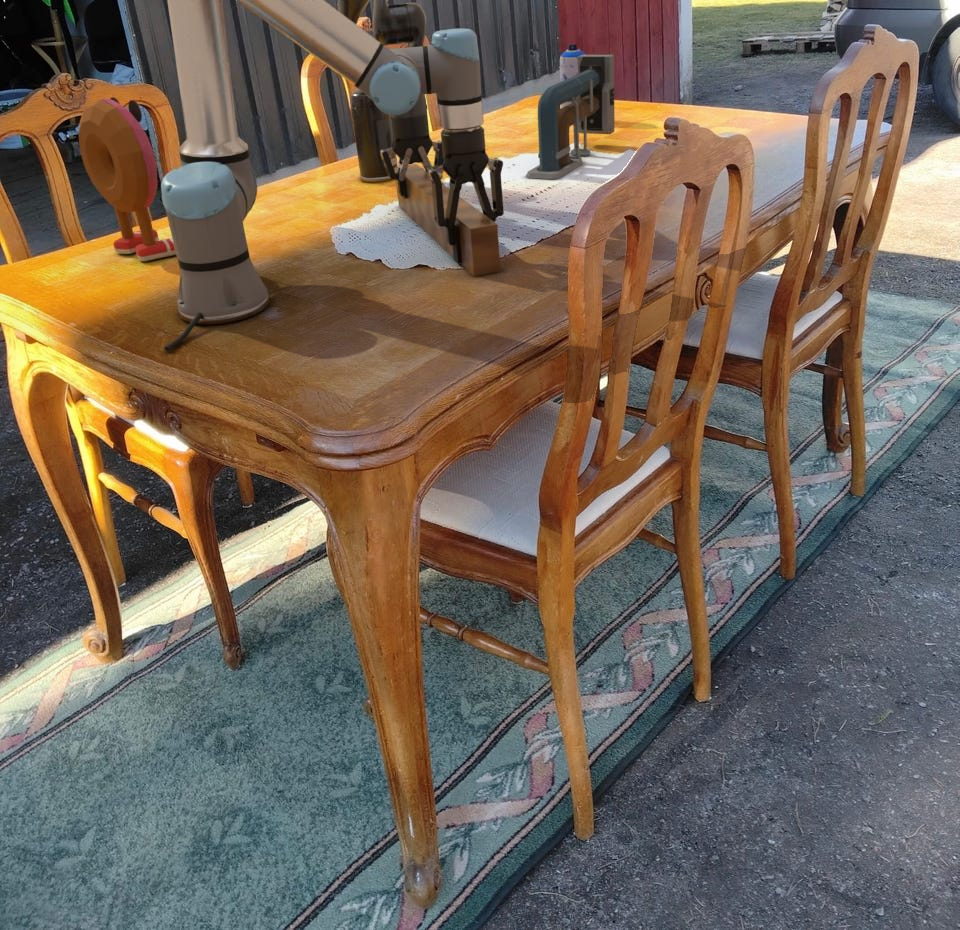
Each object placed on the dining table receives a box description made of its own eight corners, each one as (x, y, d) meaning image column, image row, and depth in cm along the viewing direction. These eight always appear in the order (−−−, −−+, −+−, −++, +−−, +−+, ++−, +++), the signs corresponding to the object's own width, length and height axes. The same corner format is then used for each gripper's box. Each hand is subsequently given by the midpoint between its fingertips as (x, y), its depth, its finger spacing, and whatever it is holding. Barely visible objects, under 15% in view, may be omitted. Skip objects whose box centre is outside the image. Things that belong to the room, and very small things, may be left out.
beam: (500, 271, 172) (497, 224, 168) (474, 276, 171) (470, 228, 167) (420, 203, 214) (416, 163, 210) (398, 206, 213) (394, 167, 209)
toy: (199, 253, 194) (163, 96, 179) (154, 268, 188) (113, 106, 173) (144, 236, 207) (106, 89, 192) (101, 250, 201) (58, 98, 186)
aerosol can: (559, 122, 275) (557, 47, 265) (562, 117, 282) (559, 42, 272) (587, 121, 274) (585, 45, 263) (589, 115, 280) (587, 41, 270)
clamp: (557, 179, 222) (554, 81, 212) (523, 177, 226) (518, 80, 215) (614, 143, 248) (614, 54, 237) (583, 142, 252) (581, 54, 241)
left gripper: (503, 116, 171) (511, 244, 183) (405, 131, 167) (420, 261, 179) (518, 123, 165) (525, 255, 177) (417, 139, 161) (431, 273, 173)
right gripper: (436, 104, 201) (444, 186, 210) (370, 114, 198) (380, 196, 207) (447, 110, 195) (455, 194, 204) (379, 120, 192) (389, 205, 200)
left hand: (472, 258), depth 178 cm, fingers closed on beam, 5 cm apart
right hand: (417, 195), depth 205 cm, fingers closed on beam, 5 cm apart
